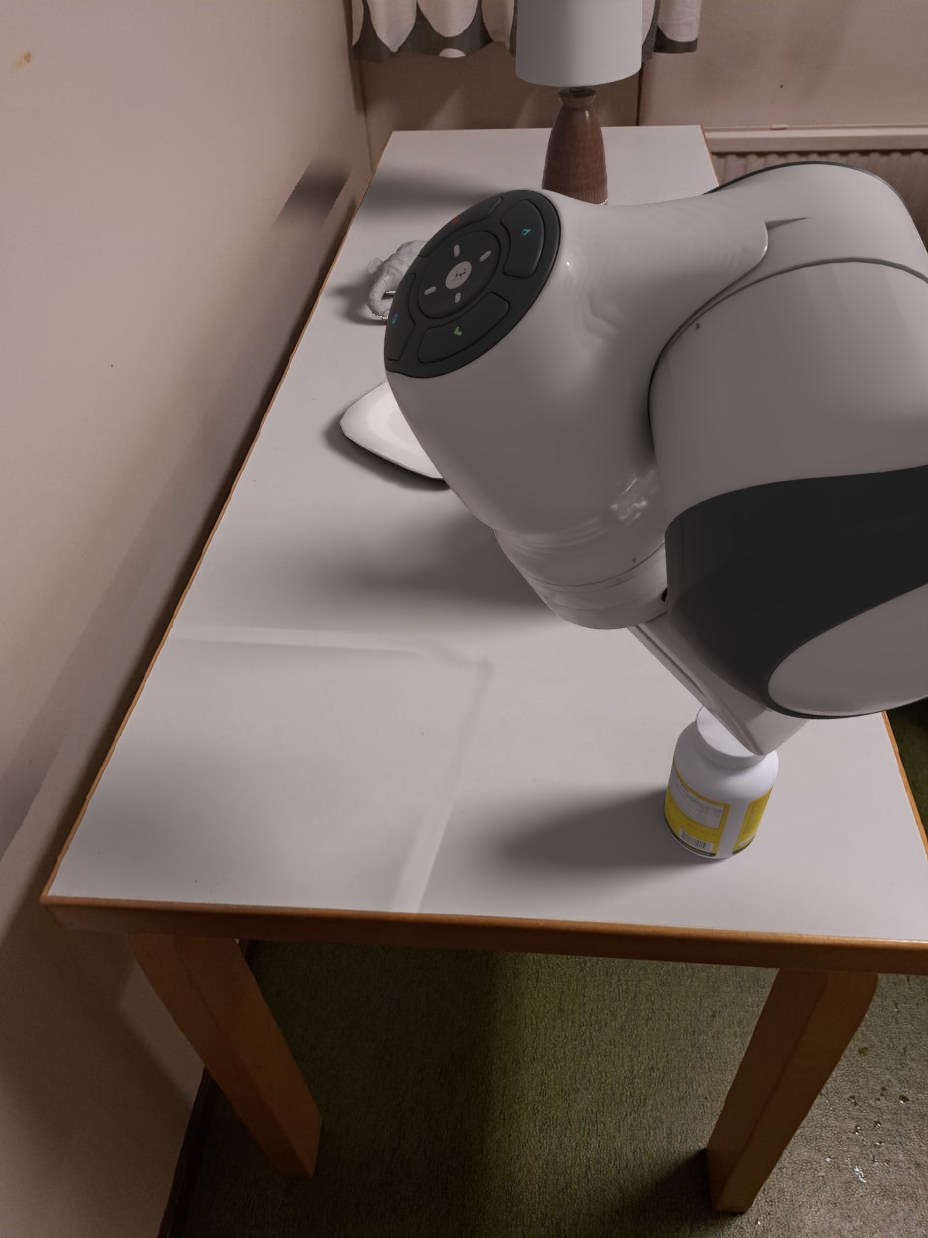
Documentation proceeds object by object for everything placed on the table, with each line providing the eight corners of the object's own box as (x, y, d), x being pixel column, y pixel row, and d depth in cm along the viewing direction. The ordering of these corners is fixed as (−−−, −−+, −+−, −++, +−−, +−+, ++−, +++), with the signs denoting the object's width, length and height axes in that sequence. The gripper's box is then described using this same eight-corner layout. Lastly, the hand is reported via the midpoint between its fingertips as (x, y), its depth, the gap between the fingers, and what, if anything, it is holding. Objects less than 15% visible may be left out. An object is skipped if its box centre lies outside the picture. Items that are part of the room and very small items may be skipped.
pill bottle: (757, 792, 61) (791, 693, 53) (753, 872, 57) (790, 779, 49) (667, 774, 63) (686, 676, 54) (656, 851, 59) (676, 758, 50)
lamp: (557, 238, 130) (562, -65, 104) (497, 201, 142) (487, -79, 115) (653, 208, 136) (681, -87, 109) (588, 175, 147) (598, -98, 121)
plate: (460, 505, 86) (459, 492, 85) (319, 435, 97) (316, 423, 96) (582, 410, 97) (583, 397, 96) (443, 356, 108) (442, 344, 106)
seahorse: (436, 318, 112) (461, 235, 123) (353, 291, 111) (386, 209, 122) (428, 348, 117) (453, 265, 128) (348, 322, 115) (380, 240, 126)
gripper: (833, 625, 32) (854, 735, 43) (538, 383, 44) (613, 517, 56) (708, 732, 33) (760, 813, 44) (449, 463, 45) (541, 580, 56)
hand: (676, 646), depth 50 cm, fingers open, 8 cm apart
